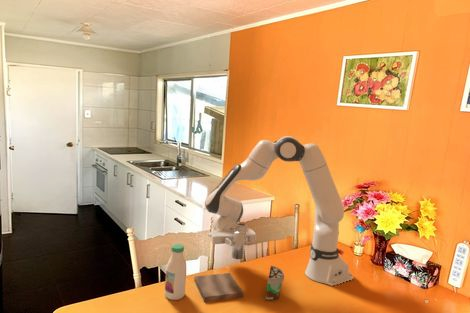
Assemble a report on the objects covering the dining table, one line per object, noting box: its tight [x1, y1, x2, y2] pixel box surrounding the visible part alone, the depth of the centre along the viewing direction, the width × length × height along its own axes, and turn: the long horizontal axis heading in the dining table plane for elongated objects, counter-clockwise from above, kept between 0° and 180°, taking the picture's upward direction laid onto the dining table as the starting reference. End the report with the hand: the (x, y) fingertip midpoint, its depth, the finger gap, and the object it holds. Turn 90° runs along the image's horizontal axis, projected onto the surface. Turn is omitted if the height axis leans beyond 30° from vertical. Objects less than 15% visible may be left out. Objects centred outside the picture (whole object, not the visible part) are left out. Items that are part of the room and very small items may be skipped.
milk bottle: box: [164, 243, 187, 301], centre depth 128 cm, size 8×8×20 cm
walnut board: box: [193, 272, 244, 303], centre depth 137 cm, size 16×16×2 cm
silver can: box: [231, 230, 246, 260], centre depth 140 cm, size 5×5×11 cm
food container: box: [265, 265, 285, 302], centre depth 135 cm, size 12×6×10 cm, turn 168°
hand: (239, 243), depth 139 cm, fingers closed on silver can, 5 cm apart
